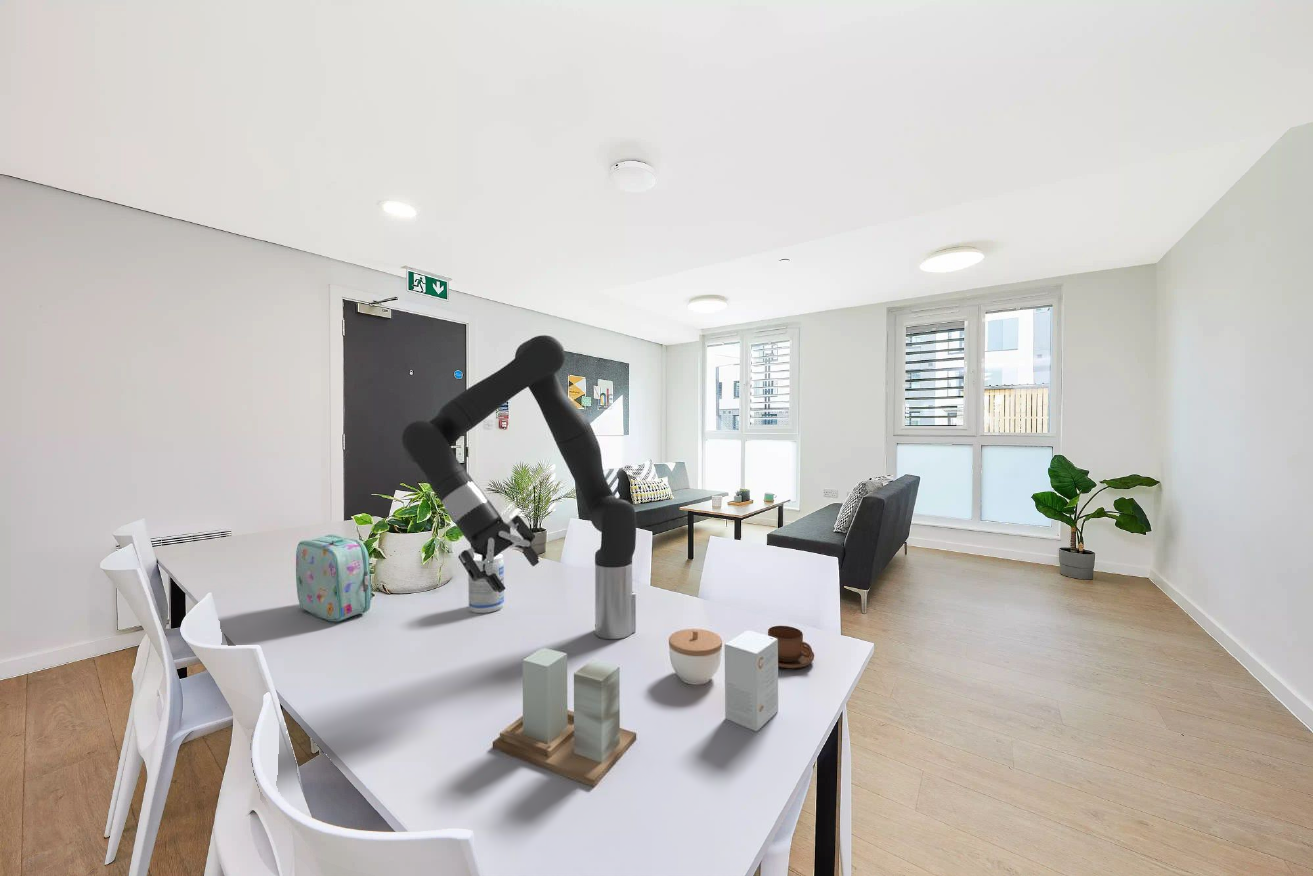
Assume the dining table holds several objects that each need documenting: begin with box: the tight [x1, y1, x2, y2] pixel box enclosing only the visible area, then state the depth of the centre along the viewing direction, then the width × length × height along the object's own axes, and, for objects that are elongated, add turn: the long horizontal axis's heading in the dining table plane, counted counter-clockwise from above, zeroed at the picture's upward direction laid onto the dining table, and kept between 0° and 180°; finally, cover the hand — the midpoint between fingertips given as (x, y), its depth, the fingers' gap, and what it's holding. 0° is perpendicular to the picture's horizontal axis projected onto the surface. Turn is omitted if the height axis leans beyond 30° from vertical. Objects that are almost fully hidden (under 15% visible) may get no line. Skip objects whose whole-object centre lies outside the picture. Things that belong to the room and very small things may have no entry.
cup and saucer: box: [767, 625, 815, 669], centre depth 106 cm, size 12×12×6 cm
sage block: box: [522, 647, 568, 744], centre depth 79 cm, size 5×5×12 cm
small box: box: [724, 629, 779, 732], centre depth 85 cm, size 8×6×13 cm
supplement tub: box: [467, 553, 505, 614], centre depth 139 cm, size 10×10×15 cm
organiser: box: [492, 659, 637, 788], centre depth 77 cm, size 12×19×13 cm, turn 63°
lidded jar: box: [668, 628, 723, 686], centre depth 99 cm, size 11×11×9 cm
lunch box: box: [295, 533, 373, 623], centre depth 136 cm, size 27×10×21 cm, turn 58°
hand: (520, 577), depth 96 cm, fingers open, 8 cm apart
